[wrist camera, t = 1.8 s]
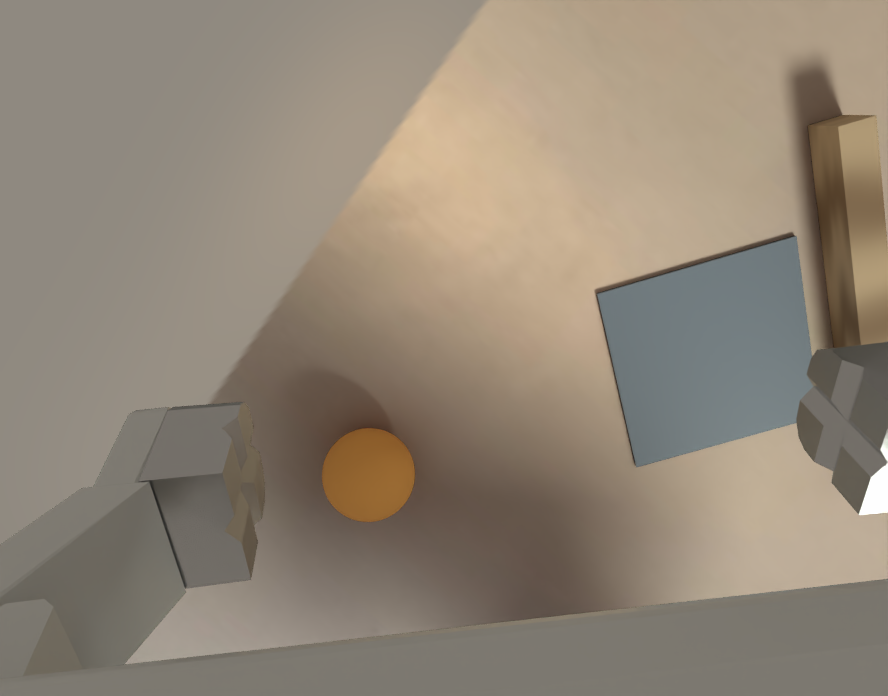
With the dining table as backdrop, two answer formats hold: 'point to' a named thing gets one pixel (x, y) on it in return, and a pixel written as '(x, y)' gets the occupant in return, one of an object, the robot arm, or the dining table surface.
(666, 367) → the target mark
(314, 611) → the dining table surface
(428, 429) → the dining table surface
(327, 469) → the ball
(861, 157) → the rail
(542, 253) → the dining table surface
